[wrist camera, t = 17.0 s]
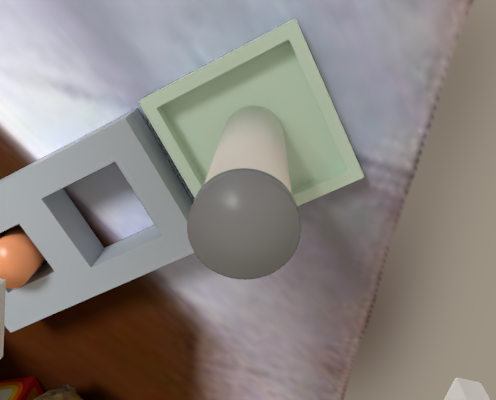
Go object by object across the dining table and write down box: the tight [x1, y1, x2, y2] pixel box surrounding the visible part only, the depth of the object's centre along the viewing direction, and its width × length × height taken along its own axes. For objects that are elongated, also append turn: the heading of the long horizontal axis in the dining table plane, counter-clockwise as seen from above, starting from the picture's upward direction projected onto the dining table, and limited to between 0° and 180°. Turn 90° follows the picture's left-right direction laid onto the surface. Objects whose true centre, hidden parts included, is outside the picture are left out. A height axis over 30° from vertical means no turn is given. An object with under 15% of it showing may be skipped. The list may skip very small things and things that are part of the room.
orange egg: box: [0, 225, 46, 289], centre depth 40 cm, size 4×4×4 cm
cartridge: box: [187, 106, 300, 279], centre depth 29 cm, size 5×5×17 cm
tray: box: [139, 18, 364, 207], centre depth 37 cm, size 13×13×2 cm
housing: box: [0, 108, 195, 332], centre depth 40 cm, size 12×20×4 cm, turn 117°
